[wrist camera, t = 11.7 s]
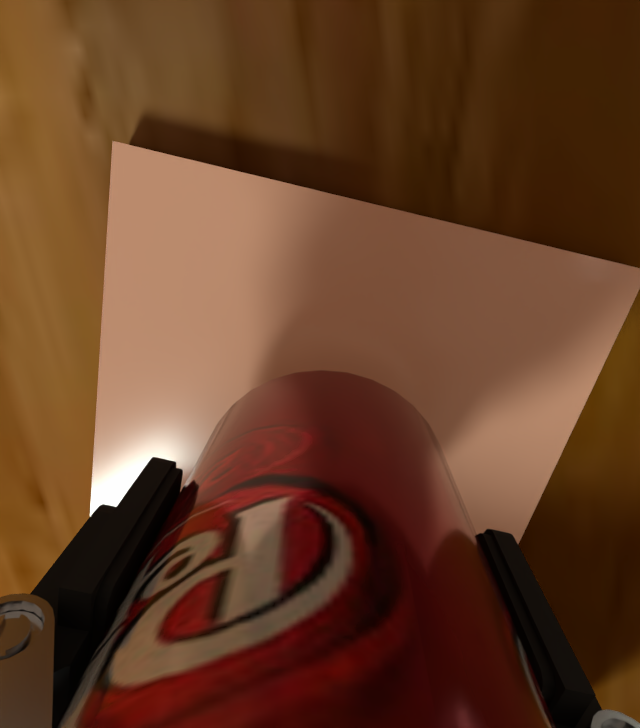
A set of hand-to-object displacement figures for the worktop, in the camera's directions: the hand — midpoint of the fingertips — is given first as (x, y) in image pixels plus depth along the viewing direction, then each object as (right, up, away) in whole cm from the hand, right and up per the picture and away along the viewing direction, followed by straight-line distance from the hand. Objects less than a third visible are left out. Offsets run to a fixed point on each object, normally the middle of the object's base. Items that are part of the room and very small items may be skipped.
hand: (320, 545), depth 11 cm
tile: (0, +2, +6) cm, 6 cm away
